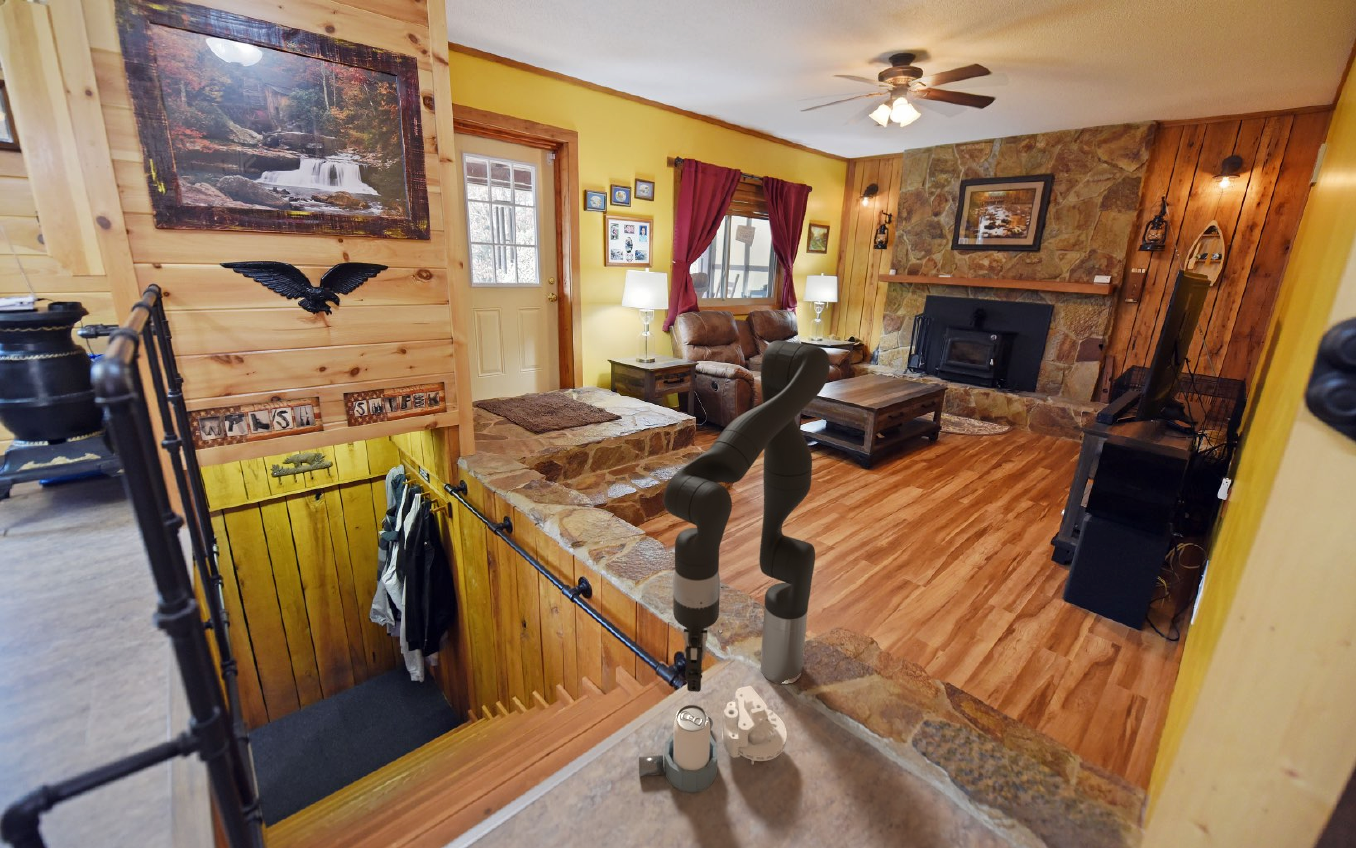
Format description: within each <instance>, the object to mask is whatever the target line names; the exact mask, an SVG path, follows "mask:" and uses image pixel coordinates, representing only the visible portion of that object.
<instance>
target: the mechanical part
mask: <svg viewBox="0 0 1356 848" xmlns="http://www.w3.org/2000/svg"><path fill="white" fill-rule="evenodd" d="M734 696H735V697H734V701H728V702H727V703H726V707H725V708H724V710H723V717H722V726H721V727H722V729H721V738H722V743H723V745H724V746H723V747H724V750H725V751H726V752H727V754H728V755H729V756H731V757H732V758H740V757H741V756H742V757H743V758H745V759H748V760H751V763H750V764H751V765H755V762H764V761H766V762H767V761H770V760H773V759H775V758H777V757H778V756H779V755H781V754H782V753H783V751H784V749H785V748H786V744H787V737H788V736H787V729H786V725H785V723H784V722H783V720H782V719H781V718H780V716H779V715H777V713H775V712H774V711H773V710H771V709H768V705H767V704H766V702H765V701H764V700H763V699H762V698H761V696H760V695H759V694H758V693H757V691H755V689H754V688H753V687H752V686H751V685H746V686H742V687H739V688H737V690H736V691H735V693H734Z"/></svg>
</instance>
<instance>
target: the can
mask: <svg viewBox="0 0 1356 848" xmlns="http://www.w3.org/2000/svg"><path fill="white" fill-rule="evenodd" d="M708 717H709V716H708V713H707V712H706V710H705V709H704V708H703V707H701V706H699V705H697V704H687V705H684V706H682V707H681V708H680V709H678V711H677V713H676V715H675V718H674V721H673V732H674V764H675V765H677V766H679V767H680V768H682V769H683V770H695V771H696V770H698V769H701V768H703V767H705V766H707V765H708V763H709V751H710V735H711V731H710V722H709V719H708Z"/></svg>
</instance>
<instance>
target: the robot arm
mask: <svg viewBox="0 0 1356 848" xmlns="http://www.w3.org/2000/svg"><path fill="white" fill-rule="evenodd" d="M762 355H763V356H762V359H761V365H760V388H761V397H762V404H759V405H757V406H755V407H753V408H752V409H749V410H748V411H746V412H744V413H742V414H740V415H739V416H737V417H735V419H733V420H732V421H731V422H730V423H729V424H728V425H727V426H726V427H725V428H724V429H723V431H721V433H720V434H719V436H718V437H717V438H716V440H715V441H714V442H713V443H712V444H711V446H710V447H709V448H708V449H707V450H706V451H704V452H703V453H701V454H700V455H698V456H697V457H696V458H694V459H692V461H690V462H688V464H686V465H685V466H683V467H682V468H680V470H678V471H677V472H676V473H675V474H674V475H673V476H672V477H671V478H670V479H669V481H668V483H667V485H666V487H665V490H664V492H663V493H664V494H663V505H664V508H665V510H666V511H667V512H668V513H669V514H671V515H672V516H674V517H675V518H679V519H680V520H683V521H685V522H687V523H689V524H692V525H694V526H696V527H689V528H686V529H684V530H682V531H680V532H679V533H678V534H677V535H676V537H675V540H674V541H675V542H674V572H673V580H672V581H673V582H672V584H673V585H672V587H673V588H672V590H673V591H672V592H673V594H672V595H673V598H672V599H673V600H672V601H673V602H672V604H673V605H672V606H673V608H672V609H673V611H672V612H673V613H672V614H673V617H674V620H675V621H676V622H677V623H678V624H679V625H680V626H682V627H683V636H682V637H683V640H684V650H683V652H684V653H683V657H684V658H685V674H684V677H685V680H686V682H687V683H686V686H687V688H686V689H687V691H688V692H694V693H695V692H696V693H699V692H700V691H702V679H703V671H704V670H703V660H705V659H706V649H707V648H706V644H707V641H708V634H709V633H708V632H709V631H708V628H709V627H711V626H713V625H714V624H715V623H716V622H717V621H718V619H719V615H720V593H721V592H720V590H721V589H720V588H721V577H720V572H719V571H720V570H719V569H720V568H719V567H720V548H721V543H722V541H723V540H722V539H723V536H724V533H725V531H726V528H727V524H728V522H729V520H730V516H731V513H732V509H733V501H732V497H731V494H730V492H729V490H728V489H727V488H726V487H725V486H724V485H722V484H720V483H726V484H735V483H738V482H740V481H741V480H742V479H743V478H744V477H745V475H746V474H747V473H748V471H749V470H750V469H751V467H752V466H753V465H754V463H755V462H756V460H758V458H759V457H760V455H761V453H762V452H763V451H764V452H763V479H762V480H763V516H762V518H763V519H762V527H761V536H760V537H761V538H760V547H759V557H758V558H759V568H760V571H761V573H762V574H764V575H765V576H767V577H769V578H771V579H774V580H776V581H777V580H778V581H780V582H779V583H776V584H772V585H771V586H770V587H768V588H767V590H766V591H765V594H764V605H763V606H764V607H763V608H764V609H763V620H762V621H763V625H762V637H761V639H762V640H761V653H760V664H761V667H760V671H761V670H762V671H761V673H762V674H763V676H764V677H765V678H766V679H767V680H769V681H770V682H773V683H775V684H778V685H780V684H779V683H782V682H784V681H785V680H788V679H792V678H795V677H797V676H798V675H799V674H800V673H801V670H802V671H803V662H804V661H803V660H804V652H805V643H806V642H805V641H806V631H807V623H808V621H807V619H808V610H809V602H810V597H811V588H812V580H813V576H814V575H813V574H814V568H815V562H816V550H815V547H814V545H813V544H812V543H810V542H808V541H804V540H801V539H798V538H794V537H791V536H787V535H785V534H784V533H783V525H784V522H785V521H786V520H787V518H788V516H789V515H790V514H791V513H792V512H793V511H794V510H795V509H796V508H797V507H798V506H799V505H800V504H801V503H802V502H803V501H804V499H806V497H807V495H808V494H809V492H810V490H811V487H812V472H813V457H812V453H811V450H810V447H809V445H808V442H807V441H806V438H805V437H804V436H805V435H803V433H802V431H801V428H800V427H799V425H798V423H797V420H796V419H795V418H796V417H797V416H798V415H799V414H800V413H801V412H802V411H803V410H804V409H805V408H806V407H807V406H808V405H809V404H810V403H811V402H812V401H813V400H814V399H815V398H817V396H818V395H819V394H820V393H821V392H822V390H823V388H824V386H825V385H826V384H827V380H828V378H829V375H830V371H831V360H830V357H829V354H828V352H827V351H826V350H825V349H824V348H821V347H819V346H815V345H812V344H805V343H800V342H792V341H787V340H774V341H772V342H770V343H769V344H768V345H767V346H766V347H765V350H764V352H763V354H762ZM801 674H802V673H801Z"/></svg>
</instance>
